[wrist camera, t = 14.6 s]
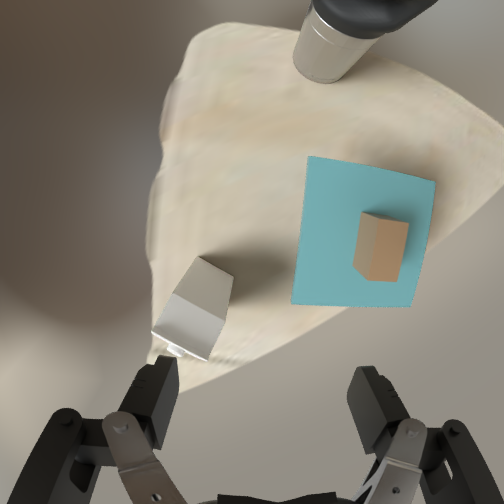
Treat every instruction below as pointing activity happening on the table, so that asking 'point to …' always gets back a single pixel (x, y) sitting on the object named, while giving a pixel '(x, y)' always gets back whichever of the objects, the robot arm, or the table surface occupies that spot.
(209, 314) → the milk carton
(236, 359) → the table surface
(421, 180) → the teal square mat
